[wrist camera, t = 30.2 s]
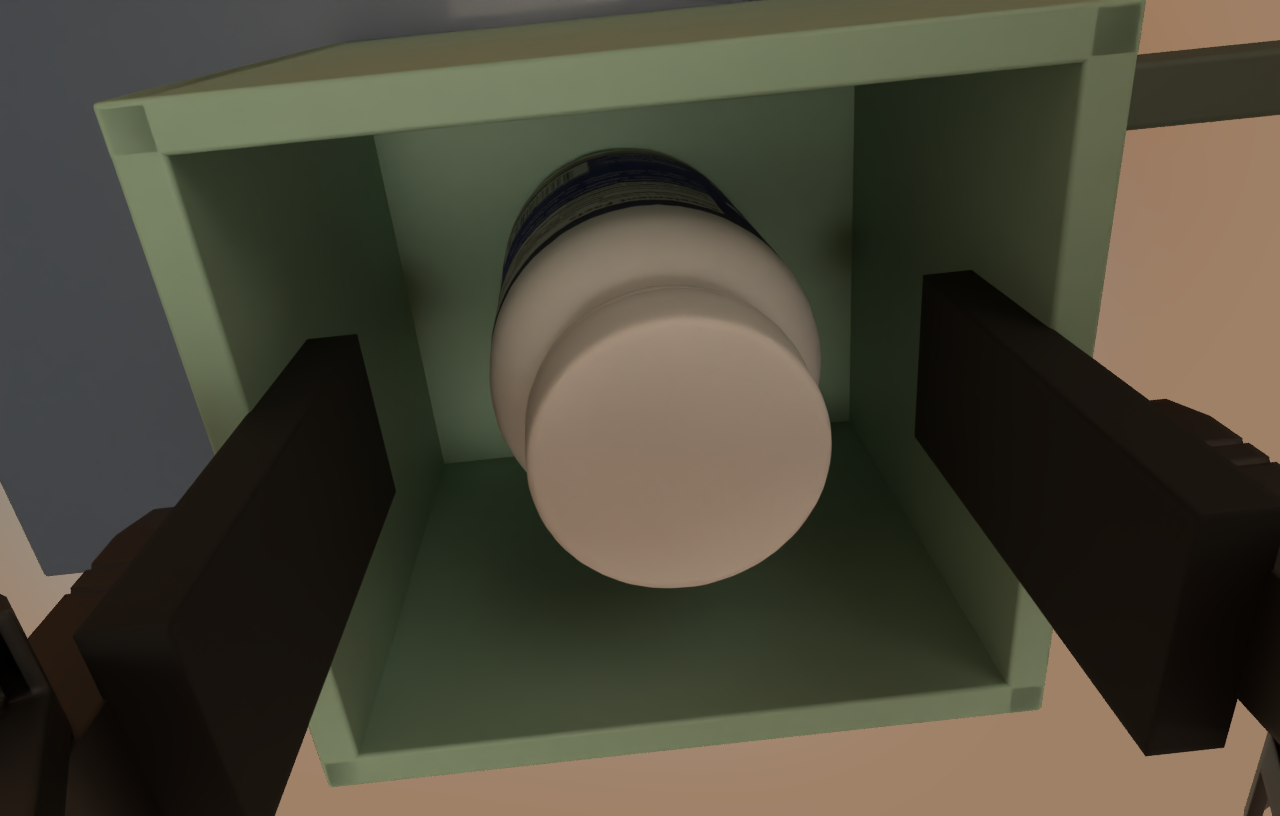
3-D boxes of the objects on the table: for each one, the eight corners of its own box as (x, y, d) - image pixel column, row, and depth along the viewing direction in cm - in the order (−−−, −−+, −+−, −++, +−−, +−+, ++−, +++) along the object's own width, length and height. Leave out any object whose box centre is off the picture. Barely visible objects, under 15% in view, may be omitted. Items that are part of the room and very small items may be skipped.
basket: (1266, -79, 18) (1911, -135, 9) (1170, 414, 22) (1530, 681, 14) (323, 16, 17) (71, 51, 9) (432, 492, 22) (335, 812, 14)
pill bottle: (757, 354, 20) (892, 593, 12) (535, 398, 20) (527, 666, 12) (729, 119, 18) (872, 227, 10) (477, 169, 18) (421, 316, 10)
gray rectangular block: (814, -80, 35) (1054, -143, 17) (815, 260, 41) (992, 476, 23) (186, -17, 35) (-239, -15, 17) (281, 316, 41) (43, 578, 23)
